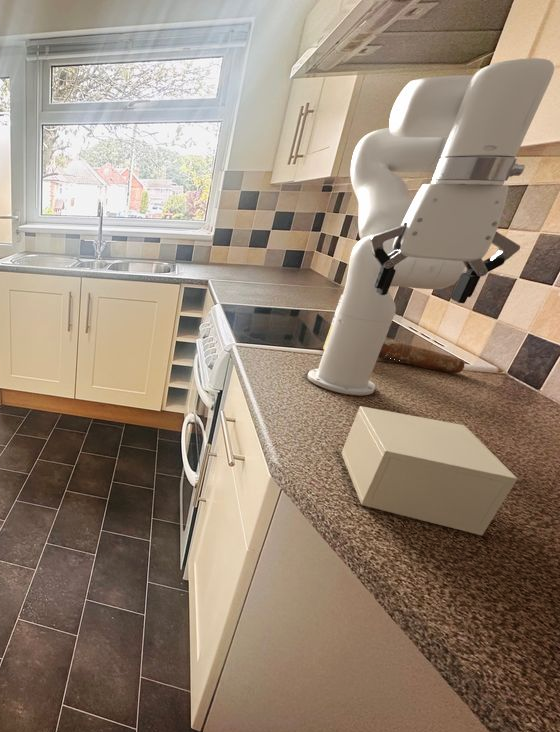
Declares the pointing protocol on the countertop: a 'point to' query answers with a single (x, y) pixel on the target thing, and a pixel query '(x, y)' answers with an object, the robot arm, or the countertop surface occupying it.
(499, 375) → the countertop surface
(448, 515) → the cream box with lid
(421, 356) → the bread
